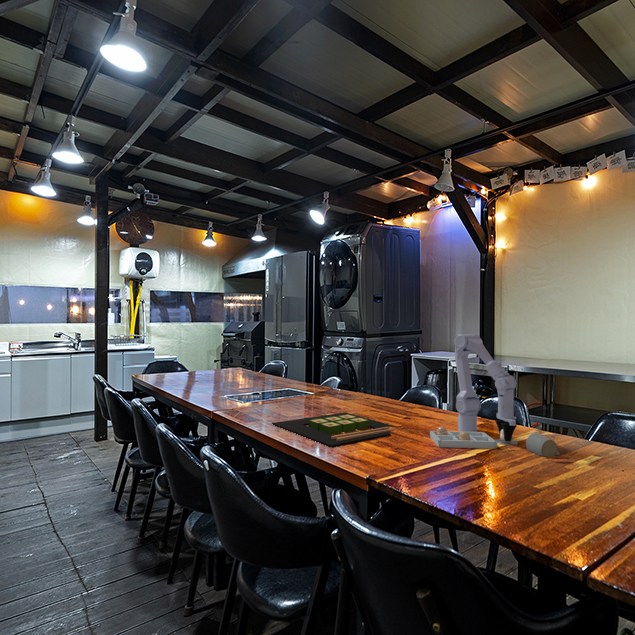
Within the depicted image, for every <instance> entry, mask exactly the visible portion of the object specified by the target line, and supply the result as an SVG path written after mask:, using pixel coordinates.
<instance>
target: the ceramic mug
mask: <svg viewBox="0 0 635 635" xmlns="http://www.w3.org/2000/svg"><path fill="white" fill-rule="evenodd" d="M525 445H526V449H527V451H528V452H530V453H533V454H535V455H537V456H541V457H544V458H550V457H555V456H559V455H561V451H558V444H557V443H556V442H555V441H554V440H553V439H552V438H549V437H547V436H544V435H542V434H541V433H537V432H534V433H531V434H529V435H528V437H527V438H526V441H525Z"/></svg>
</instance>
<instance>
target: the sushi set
mask: <svg viewBox="0 0 635 635" xmlns="http://www.w3.org/2000/svg"><path fill="white" fill-rule="evenodd" d="M272 424H273V425H275V426H274V427H276V426H277V427H276V428H279V427H280V428H279V429H281V428H283V429H282V430H284V429H285V430H284V431H286V430H288V431H287V432H289V431H290V432H289V433H291V432H293V433H292V434H294V433H296V434H295V435H297V434H298V435H297V436H299V435H301V436H300V437H302V436H303V437H302V438H304V437H306V438H305V439H307V438H308V439H307V440H309V439H311V440H310V441H312V440H313V442H315V441H316V442H315V443H317V442H319V443H318V444H320V443H321V444H320V445H322V444H323V445H322V446H325V445H326V446H325V447H327V446H328V448H330V447H332V448H336V446H337V447H342V446H345V445H346V446H347V445H353V444H356V443H361V442H367V441H370V440H371V439H372V440H376V439H380V437H381V438H385V436H386V437H390V436H389V435H391V436H392V434H391V431H395V430H396V428H399V426H397V425H395V424H389V423H386V422H381V421H379V420H375V419H371V418H368V417H367V418H366V417H363V416H360V415H356V414H353V413H349V412H339V413H338V412H337V413H332V414H325V415H317V416H310V417H303V418H297V419H291V420H283V421H275V422H272V423H271V425H272ZM273 425H272V426H273ZM305 425H308V426H305ZM369 427H370V428H369ZM365 428H367V429H365ZM372 428H373V429H372ZM356 429H357V430H356ZM360 429H362V430H360ZM355 430H356V431H355ZM350 431H351V432H350ZM343 432H345V433H343ZM338 433H340V434H338ZM342 433H343V434H342ZM332 434H334V435H332ZM341 445H342V446H341Z"/></svg>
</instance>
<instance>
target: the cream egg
mask: <svg viewBox="0 0 635 635" xmlns="http://www.w3.org/2000/svg"><path fill="white" fill-rule="evenodd" d="M499 439H500V441H501V442H503V443H511V441H505V439H504V432H503V429H502V430H501V431H500V434H499Z"/></svg>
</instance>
